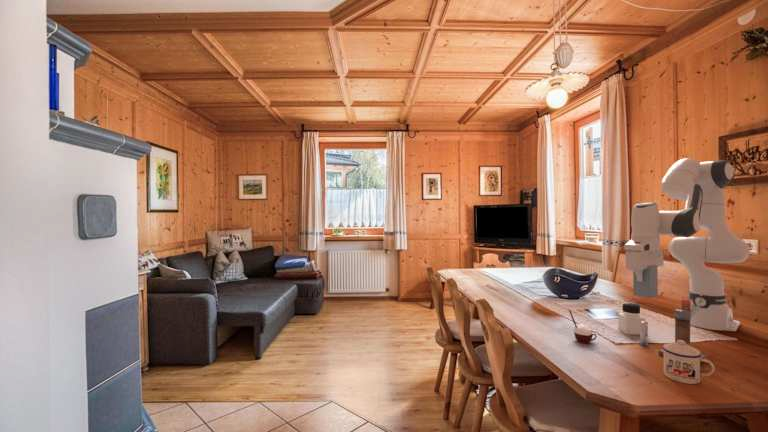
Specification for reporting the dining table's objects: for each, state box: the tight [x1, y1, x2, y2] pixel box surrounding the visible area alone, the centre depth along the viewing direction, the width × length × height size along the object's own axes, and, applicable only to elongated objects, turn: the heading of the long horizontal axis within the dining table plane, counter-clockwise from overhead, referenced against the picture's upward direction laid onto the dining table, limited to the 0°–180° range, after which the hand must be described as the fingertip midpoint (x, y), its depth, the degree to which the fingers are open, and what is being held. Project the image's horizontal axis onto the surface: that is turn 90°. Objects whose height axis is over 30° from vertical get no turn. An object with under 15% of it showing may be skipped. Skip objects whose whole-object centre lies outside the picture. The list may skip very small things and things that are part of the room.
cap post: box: [639, 320, 649, 347], centre depth 132 cm, size 2×2×9 cm
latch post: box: [658, 318, 708, 364], centre depth 121 cm, size 10×10×13 cm
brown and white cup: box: [568, 309, 597, 344], centre depth 137 cm, size 10×6×12 cm, turn 47°
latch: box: [673, 297, 699, 321], centre depth 125 cm, size 4×18×6 cm, turn 127°
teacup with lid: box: [662, 340, 716, 385], centre depth 106 cm, size 12×9×12 cm
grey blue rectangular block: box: [632, 266, 659, 299], centre depth 133 cm, size 6×6×12 cm
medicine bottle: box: [617, 302, 646, 336], centre depth 145 cm, size 7×7×12 cm
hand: (645, 279), depth 133 cm, fingers closed on grey blue rectangular block, 6 cm apart
